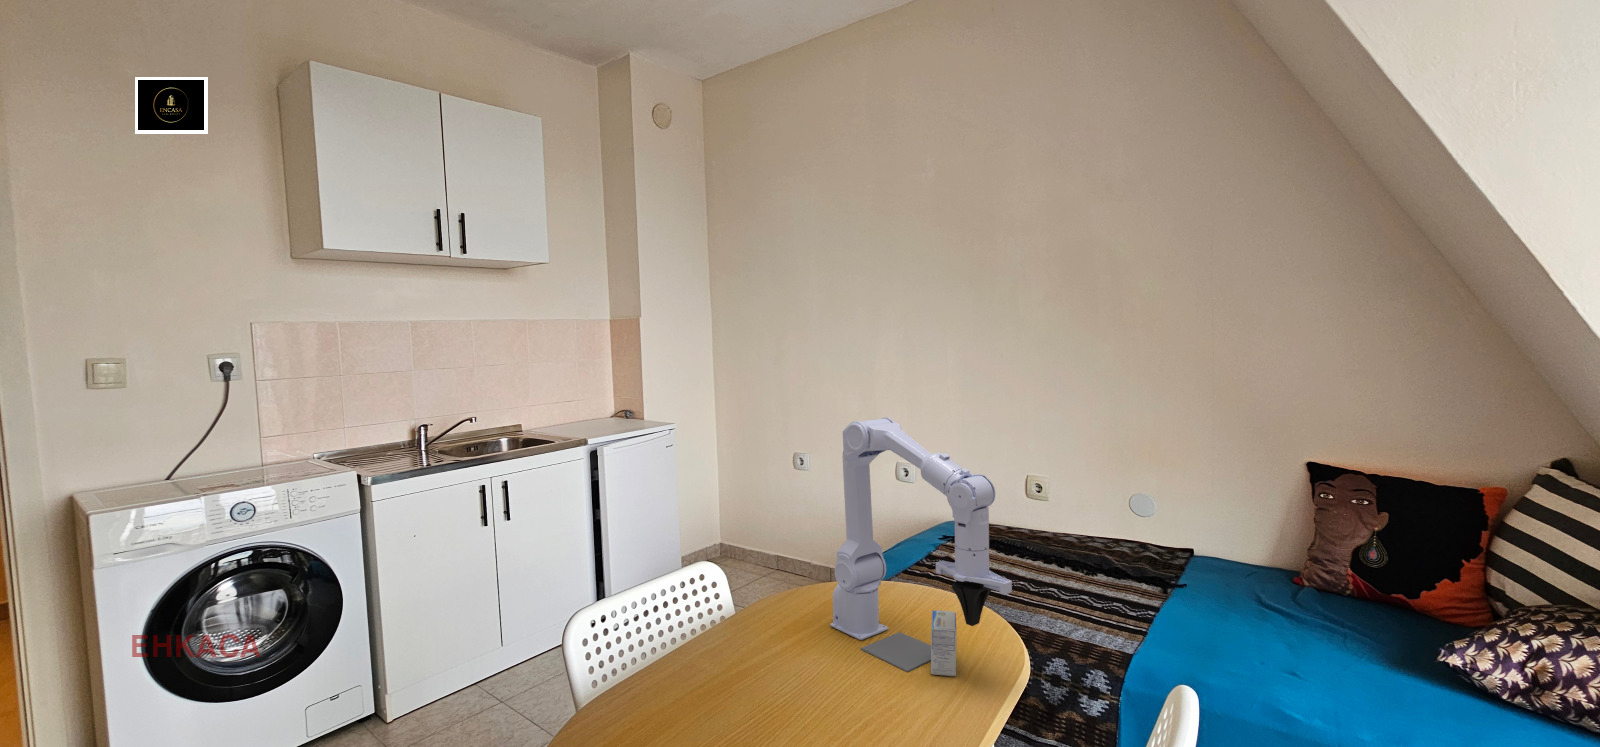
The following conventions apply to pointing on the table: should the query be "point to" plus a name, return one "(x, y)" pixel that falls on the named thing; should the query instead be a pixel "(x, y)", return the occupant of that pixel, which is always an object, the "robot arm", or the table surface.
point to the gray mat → (901, 651)
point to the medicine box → (943, 643)
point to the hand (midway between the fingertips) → (972, 623)
